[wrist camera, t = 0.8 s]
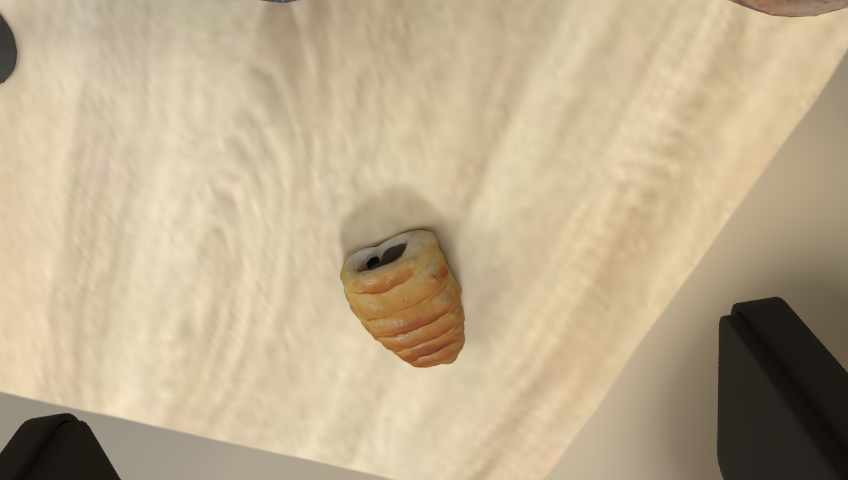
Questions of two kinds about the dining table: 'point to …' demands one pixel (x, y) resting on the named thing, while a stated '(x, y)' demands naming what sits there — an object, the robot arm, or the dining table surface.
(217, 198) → the dining table surface
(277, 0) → the bowl
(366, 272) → the pastry
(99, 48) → the dining table surface
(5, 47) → the sundae
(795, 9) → the mortar and pestle
